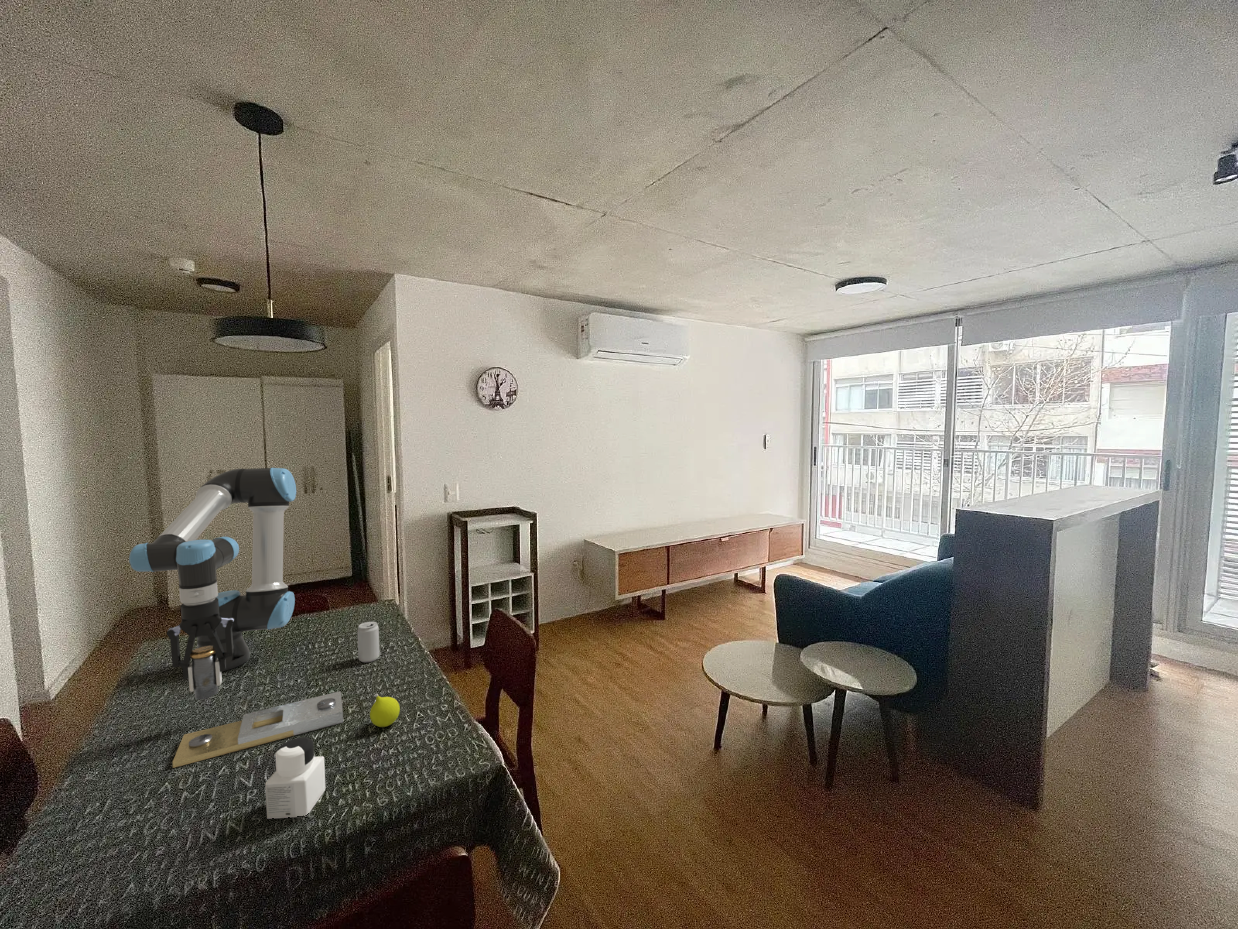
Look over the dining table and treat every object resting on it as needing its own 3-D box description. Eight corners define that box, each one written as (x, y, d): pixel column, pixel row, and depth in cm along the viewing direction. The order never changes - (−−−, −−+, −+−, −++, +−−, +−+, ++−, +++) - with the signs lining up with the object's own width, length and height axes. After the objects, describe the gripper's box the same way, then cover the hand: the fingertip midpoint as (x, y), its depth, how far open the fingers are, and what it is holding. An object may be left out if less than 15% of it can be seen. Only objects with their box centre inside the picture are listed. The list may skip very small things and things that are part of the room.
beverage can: (371, 664, 165) (369, 629, 164) (354, 662, 166) (352, 627, 165) (383, 655, 171) (382, 621, 170) (367, 654, 172) (366, 620, 171)
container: (288, 792, 107) (285, 733, 106) (326, 789, 107) (323, 731, 107) (266, 820, 99) (262, 757, 98) (307, 817, 100) (304, 755, 99)
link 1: (184, 740, 124) (183, 732, 124) (295, 712, 137) (294, 705, 136) (172, 768, 114) (172, 759, 114) (293, 735, 126) (293, 727, 126)
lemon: (364, 729, 129) (362, 692, 128) (385, 714, 136) (384, 679, 135) (384, 735, 126) (383, 697, 126) (406, 720, 133) (405, 684, 132)
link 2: (244, 725, 131) (243, 712, 130) (341, 701, 142) (340, 689, 142) (238, 750, 120) (237, 736, 120) (343, 722, 132) (342, 709, 132)
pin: (195, 692, 132) (191, 648, 131) (221, 686, 135) (218, 644, 134) (190, 702, 128) (187, 657, 126) (218, 696, 131) (215, 652, 129)
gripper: (149, 612, 121) (157, 703, 123) (240, 598, 131) (246, 683, 133) (157, 602, 128) (164, 689, 130) (244, 590, 137) (249, 671, 139)
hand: (206, 686), depth 131 cm, fingers closed on pin, 5 cm apart
